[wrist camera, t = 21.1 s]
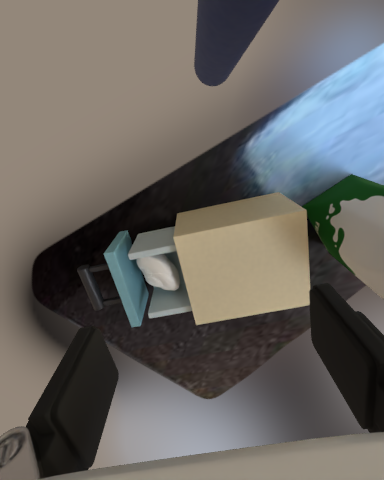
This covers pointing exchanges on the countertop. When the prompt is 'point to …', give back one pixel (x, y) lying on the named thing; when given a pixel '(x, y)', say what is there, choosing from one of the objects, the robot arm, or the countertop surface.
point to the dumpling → (159, 271)
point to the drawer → (137, 276)
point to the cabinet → (244, 257)
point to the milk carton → (353, 227)
